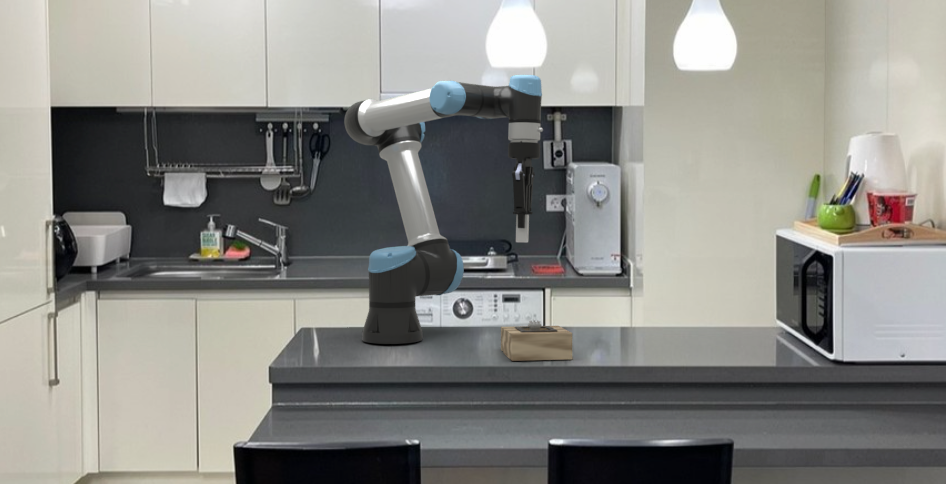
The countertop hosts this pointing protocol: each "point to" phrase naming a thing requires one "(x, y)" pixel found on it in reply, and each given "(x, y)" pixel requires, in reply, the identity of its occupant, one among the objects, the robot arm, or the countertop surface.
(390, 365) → the countertop surface
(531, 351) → the socket block
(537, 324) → the rook chess piece
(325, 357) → the countertop surface
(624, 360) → the countertop surface
